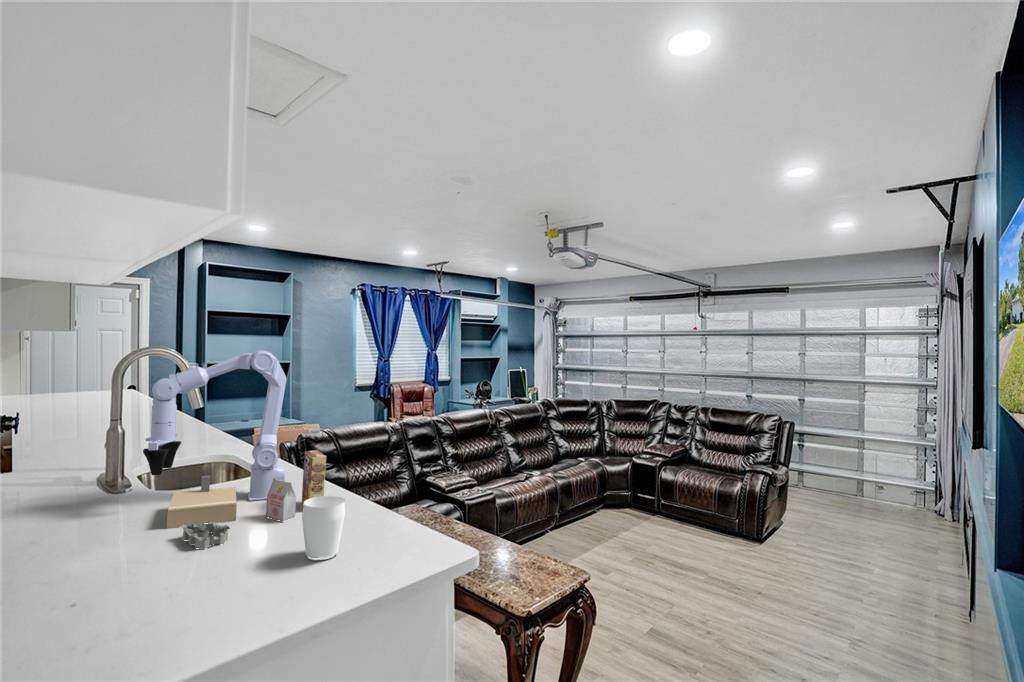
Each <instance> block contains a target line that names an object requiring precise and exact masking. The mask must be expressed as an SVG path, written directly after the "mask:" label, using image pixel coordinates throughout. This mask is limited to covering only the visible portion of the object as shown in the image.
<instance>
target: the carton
mask: <svg viewBox="0 0 1024 682" xmlns="http://www.w3.org/2000/svg"><path fill="white" fill-rule="evenodd" d="M166 517H167V518H166V529H167V528H168V529H173V528H172V527H176V528H179V527H178V526H182V525H191V524H196V523H202V522H204V523H209V522H210V521H211V522H213V524H215V523H214V522H220V523H227V522H226V521H229V522H236V521H237V502H236V505H231V506H221V507H211V508H201V509H192V510H182V511H172V512H168V511H167V515H166ZM235 520H236V521H235Z"/></svg>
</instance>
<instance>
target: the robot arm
mask: <svg viewBox="0 0 1024 682" xmlns="http://www.w3.org/2000/svg"><path fill="white" fill-rule="evenodd" d="M251 368H252V369H253V370H255V371H257V373H259V374H262V375H261V376H263V377H264V378H265V380H266V381H267V382H268V387H267V392H266V397H265V402H264V403H265V404H264V409H263V415H262V419H261V421H262V422H261V426H260V432H259V435H258V438H257V443H256V444H255V446H254V447H253V449H252V451H251V455H252V458H253V460H254V462H253V463H252V464H251V465H250V483H249V492H247V498H248V501H250V502H251V501H261V500H267V495H268V493H269V490H270V488H271V485H272V482H273V479H278V480H282V481H286V479H285V477H286V474H285V473H286V470H285V469H286V468H285V465H279V464H278V463H277V461H278V460H279V453H278V451H277V446H278V444H277V443H278V437H277V436H278V432H279V424H280V419H281V414H282V408H283V402H284V396H285V391H286V384H287V376H286V374H285V372H284V369H283V368H282V365H281V364H280V361H279V359H278V358H277V357H276V356H275V355H274V354H272V353H271V352H269V351H268V350H263V349H260V350H259V349H258V350H255V351H253V352H247V353H243V354H242V353H241V354H239V355H236V356H233V357H231V358H228V359H226V360H224V361H221V362H218V363H215V364H213V365H211V366H207V367H205V368H203V367H200V366H198V365H197V366H195V367H194V366H188V367H187V368H186V369H187V370H184V371H181V372H178V373H175V374H173V373H171V374H169V375H168V378H167V377H166V378H165V377H164V378H161V379H158V380H157V381H156V382H155V383H154V384H153V386H152V387H151V393H152V396H153V398H152V406H151V417H150V419H151V421H150V422H151V426H150V437H147V438H145V442H149V443H148V445H147V446H148V448H144V449H142V454H143V455H144V456H145V458H146V460H147V462H148V466H149V471H150V474H151V476H160V475H162V474H163V470H164V469H172V467H173V465H174V460H175V458H176V454H177V452H178V449H179V448H180V446H181V445H182V441H181V440H177V413H178V412H177V410H178V405H177V394H182V395H183V394H185V393H187V392H191V391H194V390H196V389H198V388H201V387H204V386H207V384H208V382H209V380H210V379H212V378H215V377H218V376H220V375H223V374H227V373H229V372H231V371H235V370H239V369H242V370H251Z"/></svg>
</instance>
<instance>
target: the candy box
mask: <svg viewBox="0 0 1024 682" xmlns="http://www.w3.org/2000/svg"><path fill="white" fill-rule="evenodd" d="M303 458H304V459H303V470H302V471H303V473H302V489H301V490H302V491H301V504H302V503H303V504H304V501H305V500H307V499H310V498H313V497H319V496H325V481H326V469H327V468H326V467H327V455H325V454H324V453H322V452H321V451H319V450H308V451H307V450H306V451H304V456H303ZM303 504H302V505H303Z"/></svg>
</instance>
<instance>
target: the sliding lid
mask: <svg viewBox="0 0 1024 682" xmlns="http://www.w3.org/2000/svg"><path fill="white" fill-rule="evenodd" d="M200 480H201V484H200V489H198V490H197V489H196V490H187V491H186V490H185V491H174V492H173V494H172V497H171V500H170V504H169V507H168V509H167V512H172V511H182V510H192V509H201V508H211V507H221V506H231V505H236V503H237V491H236V486H231V487H220V488H211V487H210V486H211V475H202V476H201V479H200Z"/></svg>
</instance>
